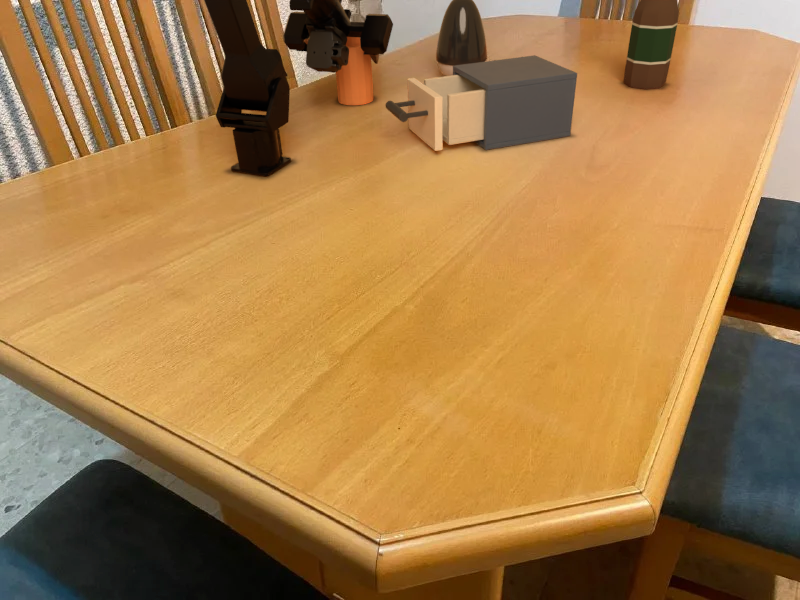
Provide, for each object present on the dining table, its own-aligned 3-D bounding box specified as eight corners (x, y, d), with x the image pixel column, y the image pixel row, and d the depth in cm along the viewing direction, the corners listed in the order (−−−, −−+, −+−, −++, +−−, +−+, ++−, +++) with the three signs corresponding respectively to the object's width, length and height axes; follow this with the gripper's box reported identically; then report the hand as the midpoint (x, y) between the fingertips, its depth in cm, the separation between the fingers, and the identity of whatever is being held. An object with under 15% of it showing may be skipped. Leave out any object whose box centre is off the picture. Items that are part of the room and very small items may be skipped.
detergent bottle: (356, 107, 116) (351, 34, 109) (331, 101, 120) (324, 30, 113) (380, 98, 120) (377, 27, 113) (355, 93, 124) (350, 24, 117)
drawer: (406, 155, 92) (404, 101, 88) (382, 132, 102) (379, 82, 97) (517, 137, 97) (520, 85, 93) (484, 116, 106) (486, 68, 102)
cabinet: (485, 150, 96) (488, 85, 90) (452, 125, 106) (452, 65, 100) (570, 136, 99) (577, 72, 94) (530, 113, 109) (535, 55, 104)
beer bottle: (623, 89, 119) (646, -58, 106) (621, 78, 126) (643, -62, 112) (667, 90, 118) (696, -59, 104) (663, 79, 124) (690, -63, 111)
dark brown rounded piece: (485, 70, 134) (488, -9, 126) (486, 83, 126) (489, -1, 117) (437, 71, 135) (437, -8, 127) (434, 84, 127) (434, 1, 118)
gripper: (256, 47, 103) (297, 97, 118) (362, 52, 97) (391, 104, 112) (274, -14, 105) (312, 43, 120) (379, -12, 99) (405, 47, 114)
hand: (353, 60), depth 116 cm, fingers open, 9 cm apart
